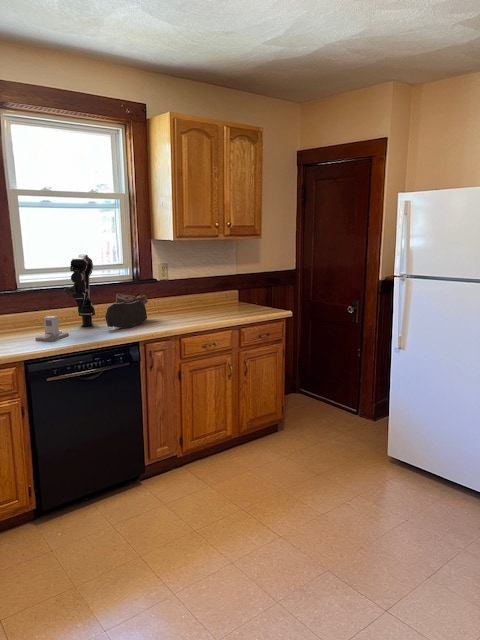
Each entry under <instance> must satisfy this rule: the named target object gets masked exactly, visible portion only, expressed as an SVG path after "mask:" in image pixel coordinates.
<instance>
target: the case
mask: <svg viewBox="0 0 480 640" xmlns="http://www.w3.org/2000/svg"><path fill="white" fill-rule="evenodd" d="M135 301H140V302H142V303H143V304H144V306H145V307H146V305H147V304H148V302H149V300H148V297H147V295H146V294H142V293H138V294H136V295H130V294H125V293H119V292H118V293H116V294H115V303H133V302H135Z"/></svg>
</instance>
